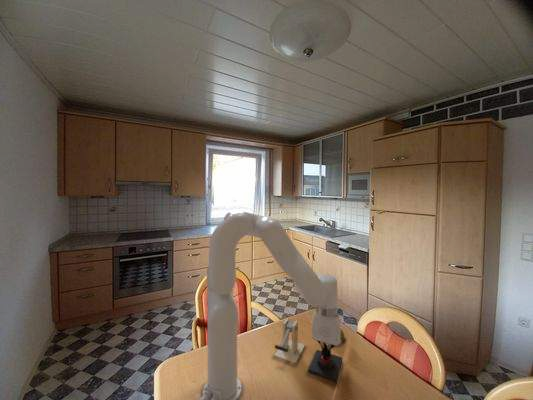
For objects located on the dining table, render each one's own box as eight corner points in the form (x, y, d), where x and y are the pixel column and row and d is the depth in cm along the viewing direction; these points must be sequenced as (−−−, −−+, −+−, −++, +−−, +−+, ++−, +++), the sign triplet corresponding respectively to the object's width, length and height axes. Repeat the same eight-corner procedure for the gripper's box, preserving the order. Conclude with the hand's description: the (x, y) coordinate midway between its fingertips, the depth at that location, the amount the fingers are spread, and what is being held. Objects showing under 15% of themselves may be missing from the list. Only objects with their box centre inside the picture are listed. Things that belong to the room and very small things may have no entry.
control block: (336, 385, 78) (336, 374, 78) (308, 375, 83) (308, 364, 83) (342, 362, 89) (342, 352, 89) (316, 354, 93) (316, 345, 93)
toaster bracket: (295, 366, 87) (295, 333, 87) (274, 358, 91) (274, 326, 91) (305, 347, 98) (305, 318, 97) (285, 341, 102) (285, 312, 102)
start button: (329, 367, 83) (329, 362, 83) (319, 363, 85) (319, 359, 85) (331, 360, 87) (331, 356, 86) (322, 357, 88) (322, 353, 88)
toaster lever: (287, 354, 85) (286, 349, 84) (275, 350, 87) (274, 345, 86) (297, 327, 95) (296, 323, 94) (286, 324, 97) (285, 320, 96)
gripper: (304, 309, 85) (304, 357, 86) (346, 319, 79) (345, 371, 79) (309, 301, 92) (309, 345, 92) (349, 309, 85) (348, 357, 86)
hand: (326, 357), depth 86 cm, fingers closed
